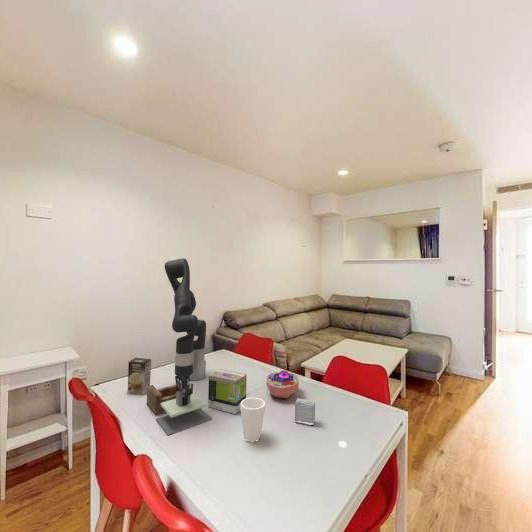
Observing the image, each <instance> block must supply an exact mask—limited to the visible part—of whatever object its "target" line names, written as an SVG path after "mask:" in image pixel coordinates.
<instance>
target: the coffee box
mask: <svg viewBox="0 0 532 532" xmlns="http://www.w3.org/2000/svg"><path fill="white" fill-rule="evenodd" d="M151 370H152V359H151V358H144V357H143V358H142V357H141V358H140V357H133V359H131V360H130V361H128V370H127V373H128V374H127V394H131V395H139V396H140V395H141V396H145V395H147V386H151V372H152V371H151Z"/></svg>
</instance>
